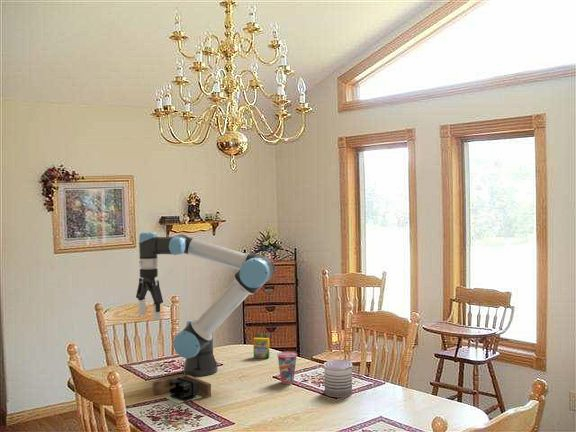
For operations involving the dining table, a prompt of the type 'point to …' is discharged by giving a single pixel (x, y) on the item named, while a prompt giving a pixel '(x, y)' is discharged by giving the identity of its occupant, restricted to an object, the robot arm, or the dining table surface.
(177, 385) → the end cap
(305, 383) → the dining table surface
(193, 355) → the robot arm
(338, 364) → the can
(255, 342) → the crayon box
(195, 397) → the pad
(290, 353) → the cup
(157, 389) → the brown l-shaped piece
